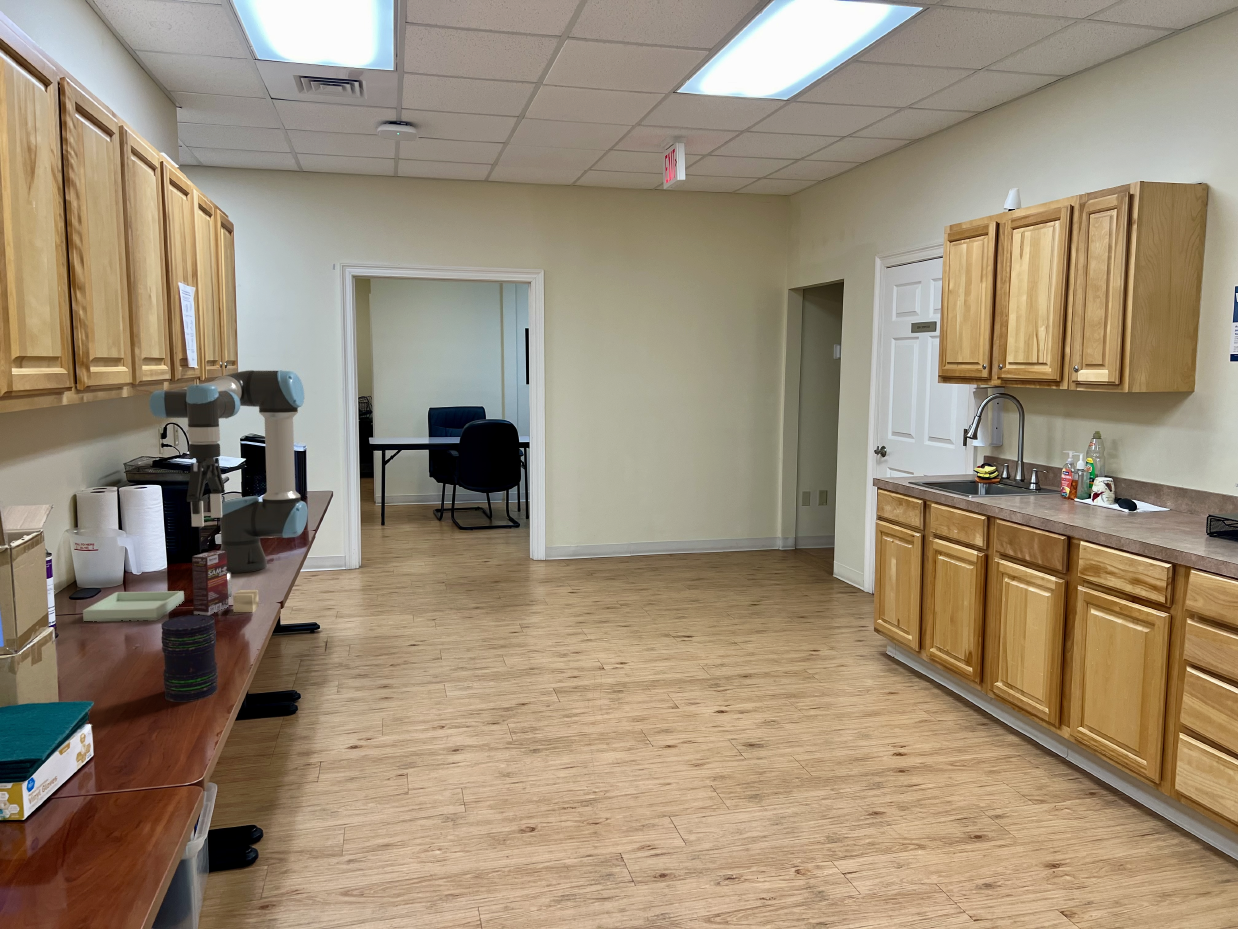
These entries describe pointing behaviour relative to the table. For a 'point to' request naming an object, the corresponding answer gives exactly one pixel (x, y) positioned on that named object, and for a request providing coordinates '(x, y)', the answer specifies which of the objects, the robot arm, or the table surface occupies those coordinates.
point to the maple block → (245, 601)
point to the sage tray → (134, 606)
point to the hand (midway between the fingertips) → (207, 521)
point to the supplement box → (210, 582)
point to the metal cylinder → (229, 584)
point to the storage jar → (189, 657)
